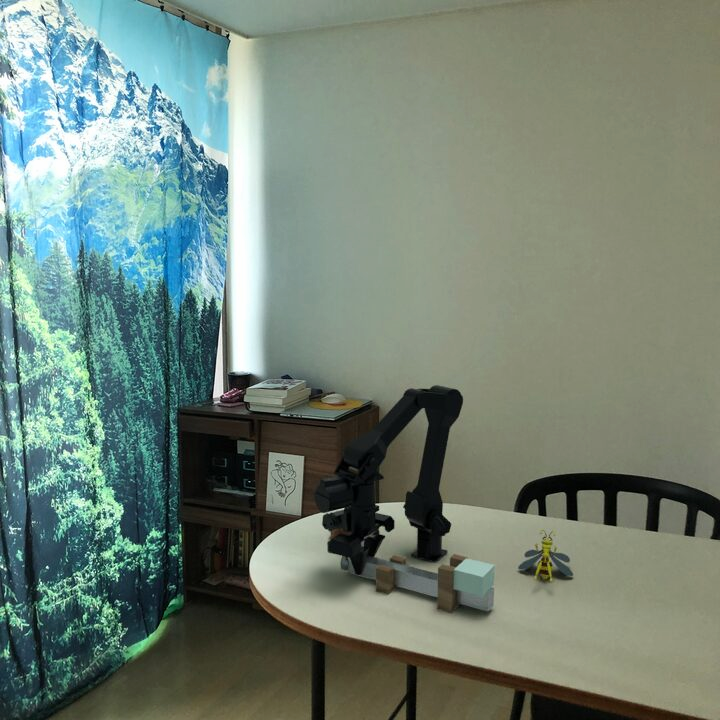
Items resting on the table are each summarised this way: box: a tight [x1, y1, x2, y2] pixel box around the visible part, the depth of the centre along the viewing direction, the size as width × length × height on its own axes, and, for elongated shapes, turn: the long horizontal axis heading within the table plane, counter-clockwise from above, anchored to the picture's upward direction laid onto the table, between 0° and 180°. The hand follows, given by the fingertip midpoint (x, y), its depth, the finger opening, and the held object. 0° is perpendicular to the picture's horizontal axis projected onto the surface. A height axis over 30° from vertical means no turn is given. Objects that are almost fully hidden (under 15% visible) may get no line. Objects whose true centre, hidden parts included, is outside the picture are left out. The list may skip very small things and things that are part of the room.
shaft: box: [340, 555, 495, 612], centre depth 146 cm, size 4×34×4 cm, turn 58°
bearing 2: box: [436, 553, 469, 613], centre depth 141 cm, size 8×3×8 cm, turn 148°
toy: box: [517, 529, 574, 582], centre depth 152 cm, size 12×8×15 cm
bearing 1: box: [375, 554, 407, 596], centre depth 148 cm, size 8×3×5 cm, turn 148°
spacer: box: [453, 558, 496, 597], centre depth 138 cm, size 6×6×4 cm
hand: (362, 571), depth 152 cm, fingers open, 3 cm apart
